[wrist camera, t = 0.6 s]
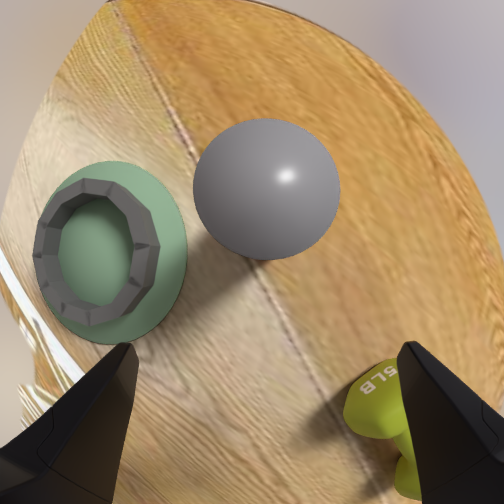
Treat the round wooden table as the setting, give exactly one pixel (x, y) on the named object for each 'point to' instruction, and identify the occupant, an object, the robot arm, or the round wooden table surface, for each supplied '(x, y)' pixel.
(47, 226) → the green round disc
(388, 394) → the dumbbell
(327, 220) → the white gray-capped cylinder
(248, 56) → the round wooden table surface
